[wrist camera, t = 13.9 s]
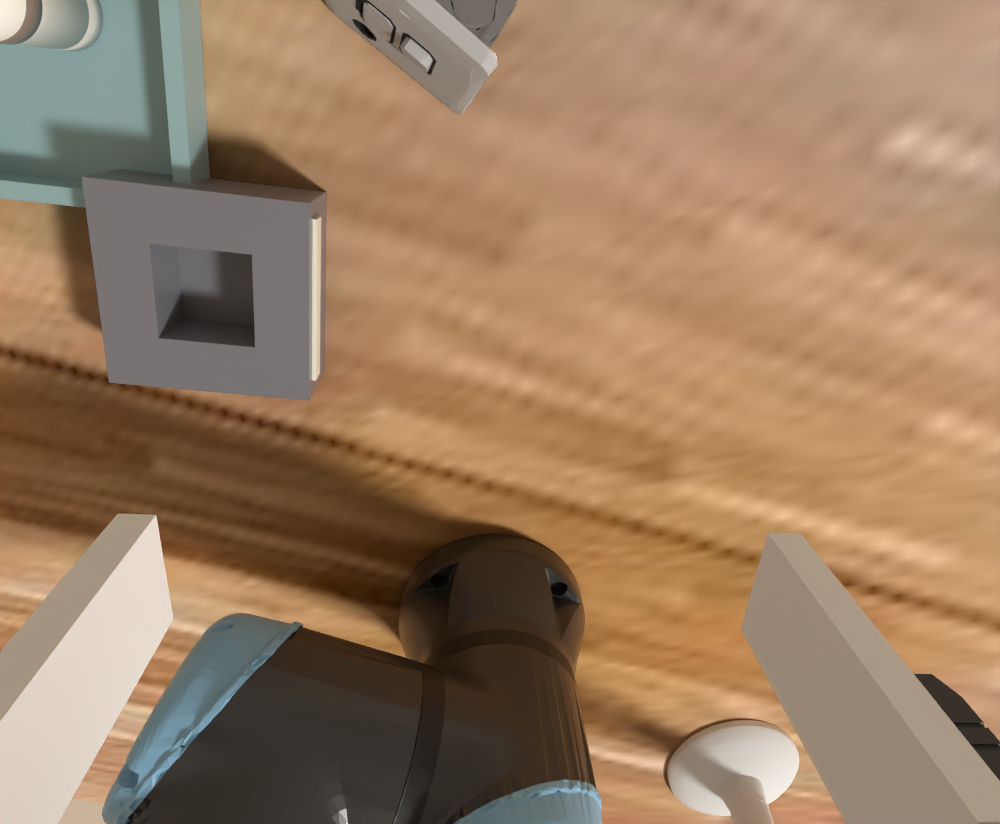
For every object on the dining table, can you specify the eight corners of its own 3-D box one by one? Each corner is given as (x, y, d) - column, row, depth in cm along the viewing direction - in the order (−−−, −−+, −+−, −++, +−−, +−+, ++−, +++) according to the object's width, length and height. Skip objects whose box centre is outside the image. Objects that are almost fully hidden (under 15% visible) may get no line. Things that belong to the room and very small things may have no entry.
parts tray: (211, 211, 42) (193, 219, 39) (-28, 184, 40) (-65, 191, 38) (187, -201, 33) (162, -228, 31) (-115, -252, 32) (-171, -285, 29)
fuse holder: (328, 371, 47) (313, 400, 42) (144, 354, 45) (109, 382, 41) (330, 192, 42) (313, 203, 37) (124, 167, 40) (81, 176, 36)
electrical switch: (324, 6, 37) (295, -39, 29) (376, -80, 36) (362, -154, 28) (459, 118, 40) (470, 107, 32) (512, 41, 39) (537, 8, 30)
